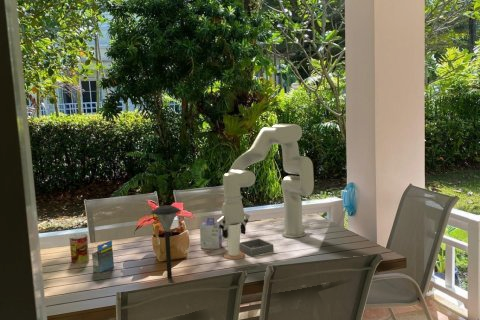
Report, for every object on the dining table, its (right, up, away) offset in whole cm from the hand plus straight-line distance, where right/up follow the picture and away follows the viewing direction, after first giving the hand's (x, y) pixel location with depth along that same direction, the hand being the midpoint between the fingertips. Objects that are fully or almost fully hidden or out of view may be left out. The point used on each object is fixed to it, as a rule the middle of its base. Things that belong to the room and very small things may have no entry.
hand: (234, 235), depth 221 cm
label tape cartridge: (-58, -14, -10) cm, 60 cm away
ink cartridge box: (-11, -9, +15) cm, 21 cm away
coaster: (0, -10, +1) cm, 10 cm away
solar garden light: (-27, -14, -23) cm, 38 cm away
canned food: (-72, -12, +2) cm, 73 cm away
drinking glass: (0, -9, +1) cm, 9 cm away
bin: (+10, -9, +7) cm, 15 cm away
